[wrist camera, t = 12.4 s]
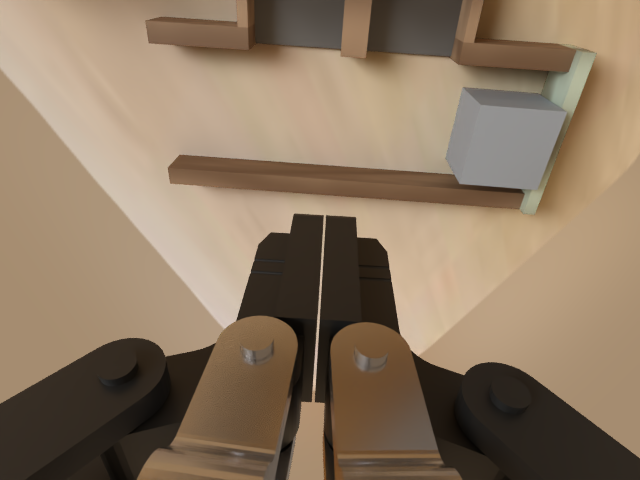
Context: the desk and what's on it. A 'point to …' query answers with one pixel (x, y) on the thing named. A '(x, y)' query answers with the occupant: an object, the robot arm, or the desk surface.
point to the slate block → (503, 138)
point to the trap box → (354, 41)
